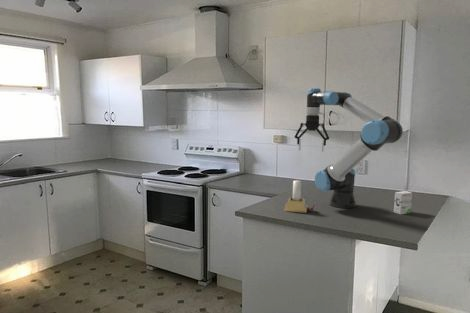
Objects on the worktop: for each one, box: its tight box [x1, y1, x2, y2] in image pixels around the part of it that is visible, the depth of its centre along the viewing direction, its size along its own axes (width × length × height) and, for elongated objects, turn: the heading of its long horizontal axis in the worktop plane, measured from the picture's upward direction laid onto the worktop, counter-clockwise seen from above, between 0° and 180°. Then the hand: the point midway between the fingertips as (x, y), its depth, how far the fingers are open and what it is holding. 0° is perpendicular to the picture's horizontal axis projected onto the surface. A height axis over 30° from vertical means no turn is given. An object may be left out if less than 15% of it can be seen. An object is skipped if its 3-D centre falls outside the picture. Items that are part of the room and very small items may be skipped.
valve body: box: [284, 196, 315, 214], centre depth 208 cm, size 16×9×6 cm, turn 76°
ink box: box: [393, 190, 413, 215], centre depth 208 cm, size 9×5×12 cm, turn 116°
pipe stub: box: [292, 180, 302, 201], centre depth 208 cm, size 4×4×14 cm
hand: (311, 150), depth 222 cm, fingers open, 13 cm apart
